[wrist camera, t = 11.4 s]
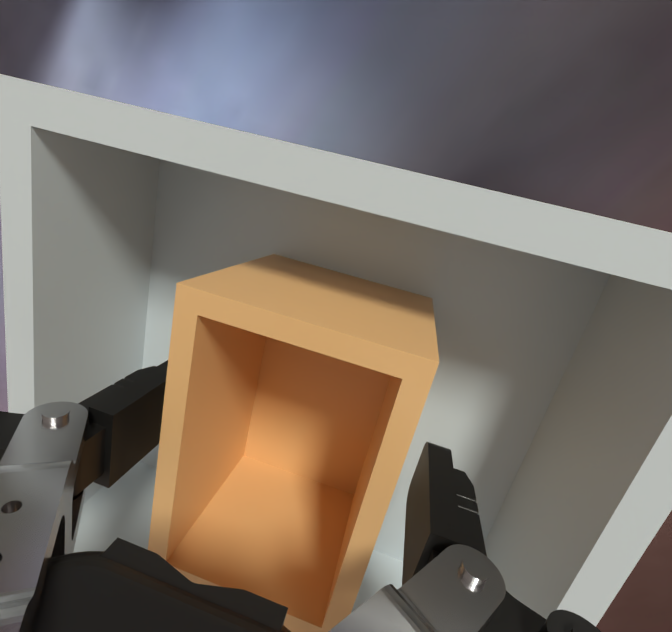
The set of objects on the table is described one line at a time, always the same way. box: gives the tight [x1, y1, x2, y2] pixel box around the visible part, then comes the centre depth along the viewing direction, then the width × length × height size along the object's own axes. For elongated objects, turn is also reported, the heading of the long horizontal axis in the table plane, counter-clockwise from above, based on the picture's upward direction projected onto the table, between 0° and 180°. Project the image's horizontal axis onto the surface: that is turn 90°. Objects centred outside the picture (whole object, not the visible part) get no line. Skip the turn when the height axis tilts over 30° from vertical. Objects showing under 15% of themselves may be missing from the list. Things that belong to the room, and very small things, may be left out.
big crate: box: [0, 74, 672, 627], centre depth 13 cm, size 18×16×6 cm
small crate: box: [148, 254, 439, 632], centre depth 12 cm, size 6×9×6 cm, turn 166°
